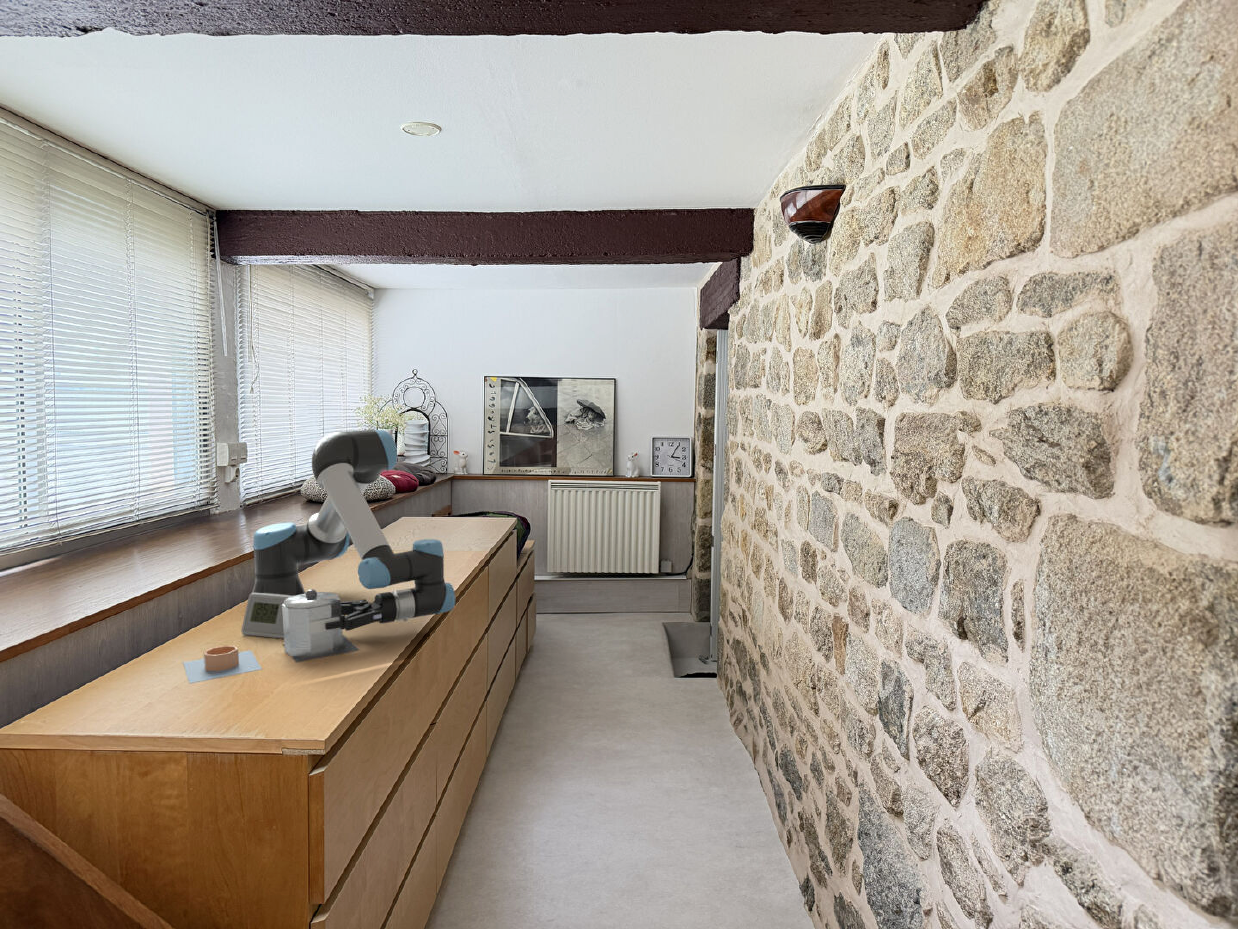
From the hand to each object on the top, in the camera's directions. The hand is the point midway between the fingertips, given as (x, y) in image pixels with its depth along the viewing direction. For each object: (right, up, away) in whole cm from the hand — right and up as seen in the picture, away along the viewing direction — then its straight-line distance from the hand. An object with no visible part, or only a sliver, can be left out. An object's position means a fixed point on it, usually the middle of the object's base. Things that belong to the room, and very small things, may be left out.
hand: (303, 621), depth 177 cm
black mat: (+3, -7, +3) cm, 8 cm away
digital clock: (-14, -7, +14) cm, 21 cm away
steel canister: (+2, -7, +2) cm, 7 cm away
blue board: (-14, -9, -9) cm, 19 cm away
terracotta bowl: (-14, -8, -9) cm, 19 cm away
